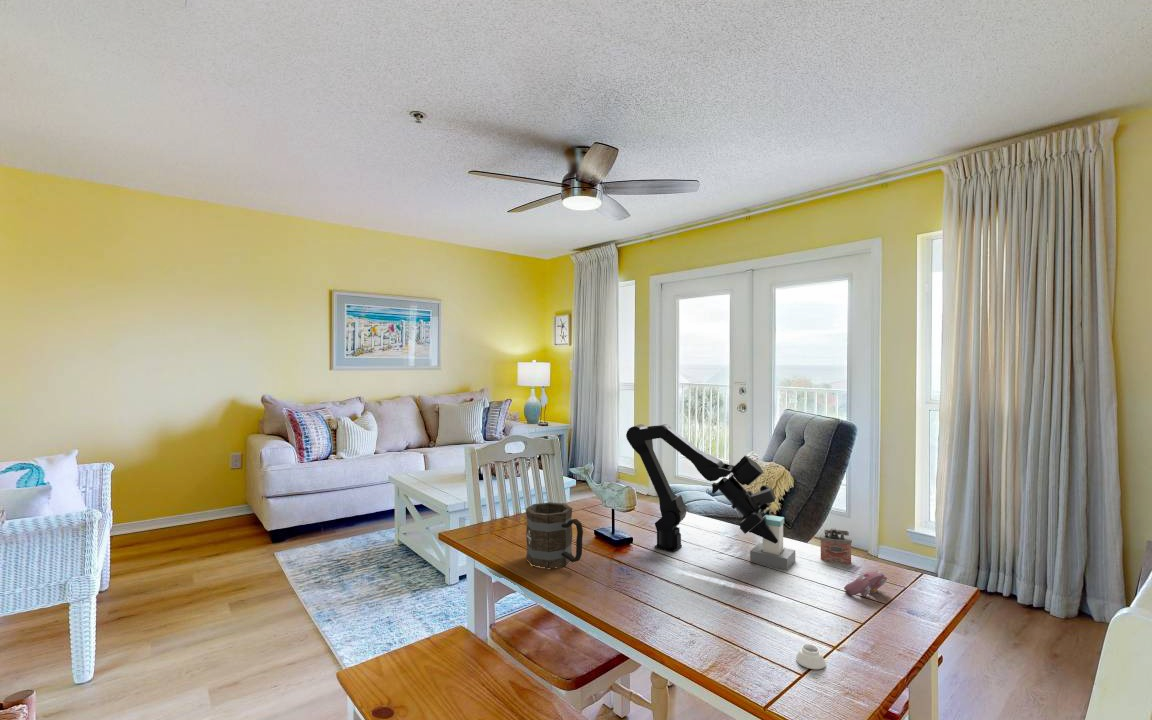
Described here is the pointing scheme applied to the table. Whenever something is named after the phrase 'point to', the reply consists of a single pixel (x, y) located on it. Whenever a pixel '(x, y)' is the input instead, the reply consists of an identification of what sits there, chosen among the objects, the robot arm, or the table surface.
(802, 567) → the table surface
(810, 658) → the white jar
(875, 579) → the video game controller
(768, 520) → the plug
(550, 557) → the mug
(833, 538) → the lighter
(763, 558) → the grey hollow block
